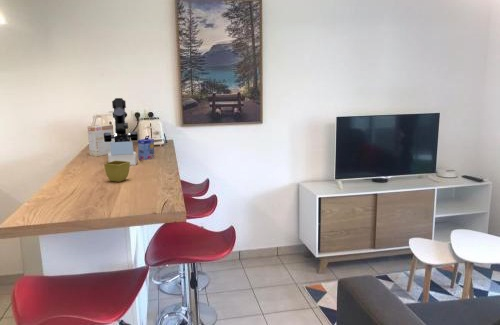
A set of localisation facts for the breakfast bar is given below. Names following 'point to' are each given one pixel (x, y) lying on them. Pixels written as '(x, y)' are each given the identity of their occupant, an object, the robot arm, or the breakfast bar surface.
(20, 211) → the breakfast bar surface
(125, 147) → the flap
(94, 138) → the coffeecake box
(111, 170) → the flower pot
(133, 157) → the carton
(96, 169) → the breakfast bar surface
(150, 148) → the ink cartridge box
